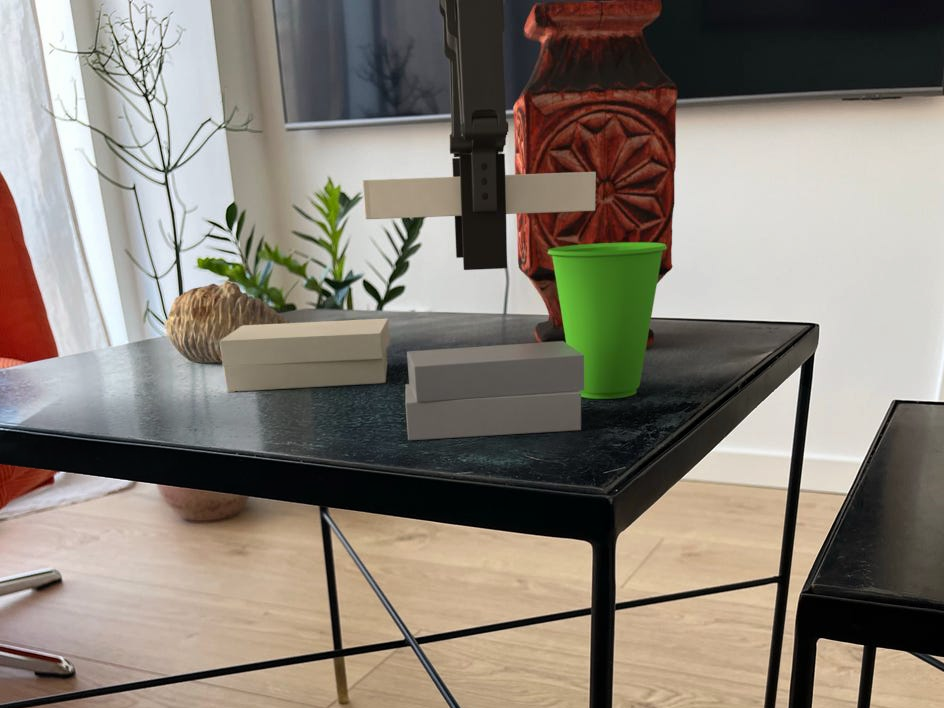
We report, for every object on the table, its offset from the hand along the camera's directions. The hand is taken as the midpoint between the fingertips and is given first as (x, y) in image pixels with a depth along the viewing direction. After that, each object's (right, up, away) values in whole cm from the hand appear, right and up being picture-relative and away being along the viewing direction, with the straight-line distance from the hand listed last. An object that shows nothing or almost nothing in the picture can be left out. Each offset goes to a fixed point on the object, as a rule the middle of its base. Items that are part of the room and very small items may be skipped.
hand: (479, 262), depth 69 cm
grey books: (+1, -10, +4) cm, 11 cm away
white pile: (-16, -1, +26) cm, 30 cm away
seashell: (-27, +4, +39) cm, 47 cm away
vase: (+11, +5, +37) cm, 39 cm away
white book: (0, +3, -1) cm, 3 cm away
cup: (+10, -6, +13) cm, 18 cm away
